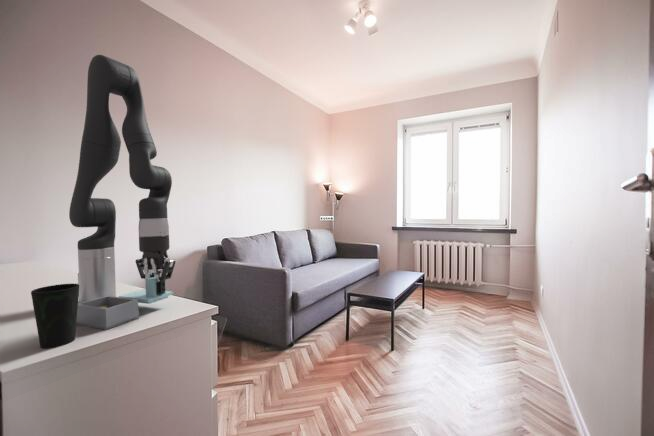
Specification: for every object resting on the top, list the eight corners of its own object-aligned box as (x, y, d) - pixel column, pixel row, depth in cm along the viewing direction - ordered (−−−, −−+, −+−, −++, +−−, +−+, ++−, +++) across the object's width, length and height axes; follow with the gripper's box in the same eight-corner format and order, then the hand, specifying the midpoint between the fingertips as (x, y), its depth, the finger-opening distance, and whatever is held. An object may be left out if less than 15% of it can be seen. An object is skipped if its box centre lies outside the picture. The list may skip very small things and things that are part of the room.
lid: (118, 301, 84) (118, 278, 84) (145, 294, 91) (144, 273, 91) (148, 305, 79) (147, 281, 79) (173, 297, 87) (172, 275, 87)
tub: (75, 324, 74) (74, 304, 73) (108, 313, 81) (107, 295, 81) (106, 329, 69) (105, 309, 69) (138, 318, 77) (138, 299, 77)
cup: (77, 332, 68) (75, 281, 68) (85, 340, 63) (83, 286, 63) (30, 344, 62) (28, 289, 62) (35, 354, 58) (33, 294, 57)
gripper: (124, 235, 83) (126, 295, 83) (160, 235, 78) (162, 299, 78) (149, 233, 90) (151, 288, 90) (183, 233, 85) (185, 292, 85)
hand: (156, 293), depth 84 cm, fingers closed on lid, 3 cm apart
